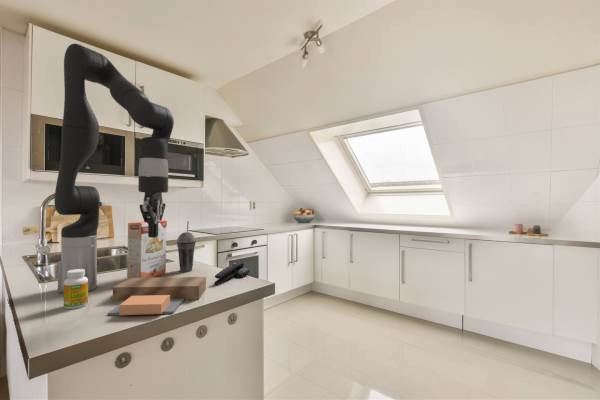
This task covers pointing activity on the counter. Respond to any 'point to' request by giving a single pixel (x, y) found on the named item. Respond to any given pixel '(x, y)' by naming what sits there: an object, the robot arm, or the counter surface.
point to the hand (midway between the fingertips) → (153, 237)
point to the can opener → (231, 272)
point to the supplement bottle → (75, 289)
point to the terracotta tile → (144, 305)
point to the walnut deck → (161, 287)
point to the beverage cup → (186, 250)
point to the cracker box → (146, 251)
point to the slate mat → (169, 310)
